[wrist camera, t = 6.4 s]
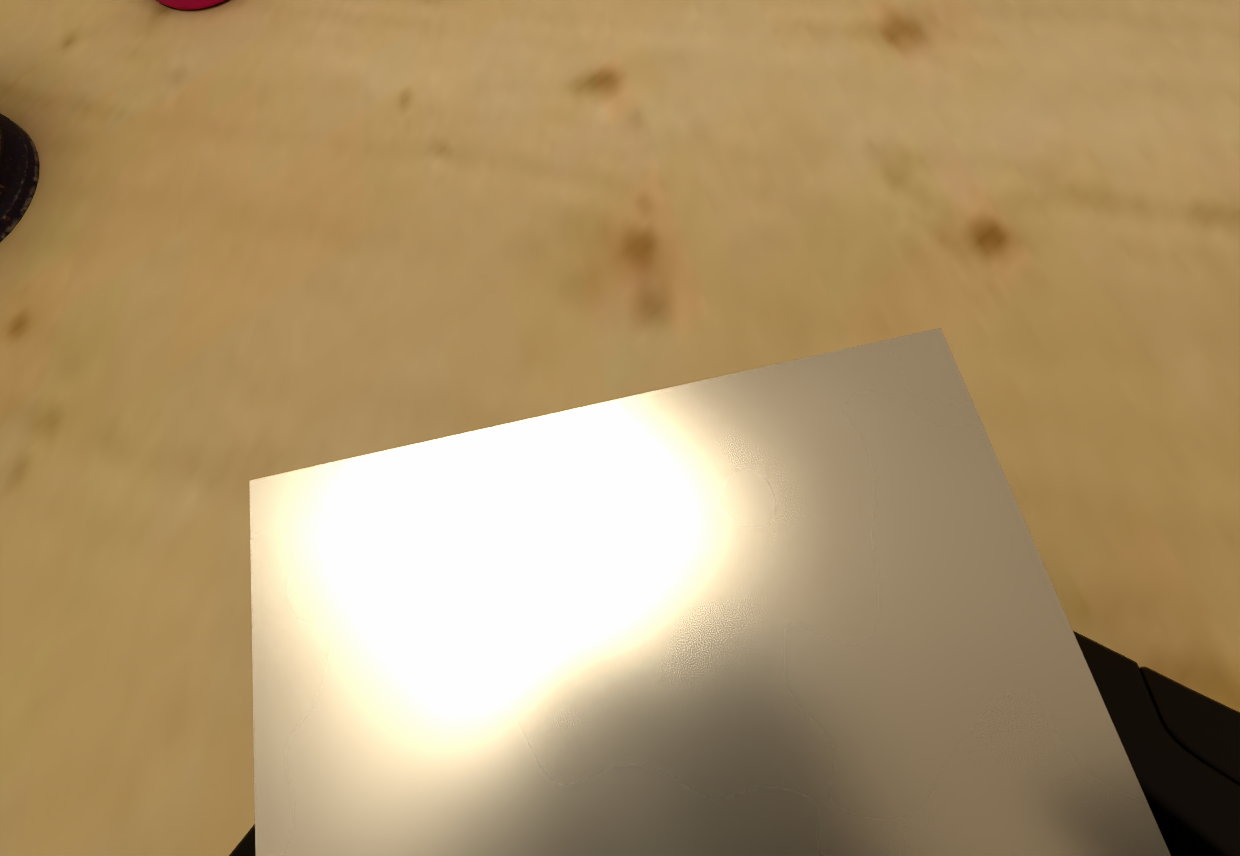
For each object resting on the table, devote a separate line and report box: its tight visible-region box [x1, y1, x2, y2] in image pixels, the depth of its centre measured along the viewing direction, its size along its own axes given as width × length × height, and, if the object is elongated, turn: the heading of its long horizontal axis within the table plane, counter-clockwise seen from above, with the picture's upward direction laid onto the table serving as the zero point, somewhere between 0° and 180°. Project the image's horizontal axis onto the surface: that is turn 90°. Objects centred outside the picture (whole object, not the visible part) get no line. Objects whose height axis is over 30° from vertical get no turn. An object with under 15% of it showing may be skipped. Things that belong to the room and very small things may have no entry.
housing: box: [250, 328, 1171, 856], centre depth 9 cm, size 6×6×11 cm
